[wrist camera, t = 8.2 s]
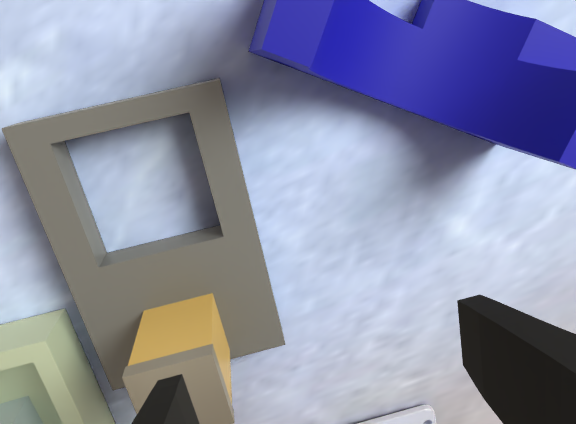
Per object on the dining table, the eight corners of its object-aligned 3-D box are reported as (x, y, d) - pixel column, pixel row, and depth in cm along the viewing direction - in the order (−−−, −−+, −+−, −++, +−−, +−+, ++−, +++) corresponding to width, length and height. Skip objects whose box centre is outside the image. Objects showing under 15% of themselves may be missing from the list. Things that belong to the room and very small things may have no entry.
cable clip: (540, 46, 20) (665, 42, 14) (494, 143, 21) (593, 175, 16) (284, -68, 17) (317, -128, 12) (248, 51, 18) (261, 49, 13)
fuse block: (281, 326, 23) (301, 414, 17) (119, 369, 22) (86, 474, 16) (219, 78, 18) (220, 87, 13) (18, 122, 18) (-71, 152, 12)
